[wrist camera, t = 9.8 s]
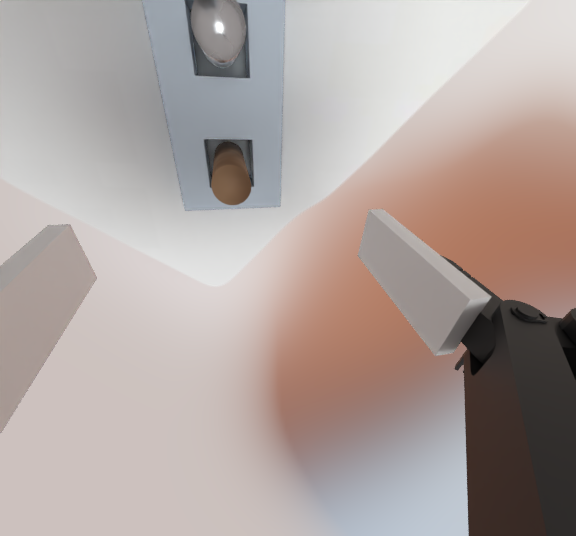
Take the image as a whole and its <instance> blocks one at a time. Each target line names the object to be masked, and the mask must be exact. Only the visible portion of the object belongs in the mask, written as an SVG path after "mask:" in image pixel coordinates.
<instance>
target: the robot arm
mask: <svg viewBox="0 0 576 536" xmlns="http://www.w3.org/2000/svg"><path fill="white" fill-rule="evenodd" d="M358 257H359V258H360V259H361V261H362V262H363V263H364V265H365V266H366V267H367V268H368V270H369V271H370V272H371V273H372V275H373V276H374V277H375V279H376V280H377V281H378V283H379V284H380V285H381V286H382V288H383V289H384V290H385V291H386V293H387V294H388V296H389V297H390V298H391V299H392V301H393V302H394V303H395V305H396V306H397V307H398V308H399V310H400V311H401V312H402V313H403V315H404V316H405V318H406V319H407V320H408V321H409V323H410V324H411V325H412V327H413V328H414V329H415V330H416V332H417V333H418V334H419V335H420V337H421V338H422V340H423V341H424V342H425V343H426V345H427V346H428V347H429V349H430V350H431V351H432V352H433V354H434V355H435V356H438V355H443V354H449V353H454V351H455V350H456V348H457V347H458V345H459V344H460V342H462V343H463V344H464V345H465V346H466V347H467V350H466V351H465V353H464V354H463V356H462V357H461V358H460V360H459V361H458V362H457V364H456V366H455V369H456V370H458V369H459V368H460V367H461V365H464V371H463V373H464V387H465V422H466V454H467V489H468V490H467V491H468V524H469V536H576V308H574V309H572V310H571V311H570V312H569V313H568V314H567V315H566V316H565V317H564V318H563V319H561V318H553V317H547V316H546V315H545V314H543V313H542V312H541V311H540V310H537V309H536V308H534V307H533V306H531V305H528V304H525V303H523V302H520V301H515V300H505V301H503V300H501V299H500V298H499V297H497V296H496V295H495V294H494V293H492V292H491V291H490V290H489V289H487V288H486V287H485V286H484V285H482V284H481V283H480V282H478V281H477V280H476V279H475V278H473V277H471V275H469V274H468V273H467V272H466V271H463V269H462V268H461V267H459V266H458V265H457V264H456V263H454V262H453V261H451V260H449V259H447V258H445V257H443V256H441V255H439V254H438V253H437V252H435V251H434V250H433V249H432V248H430V247H429V246H428V245H427V244H425V243H424V242H423V241H422V240H420V239H419V238H418V237H417V236H415V235H414V234H413V233H412V232H410V231H409V230H408V229H407V228H405V227H404V226H403V225H402V224H400V223H399V222H398V221H397V220H396V219H394V218H393V217H392V216H391V215H389V214H388V213H387V212H386V211H384V210H383V209H375V210H369V211H368V215H367V220H366V224H365V228H364V232H363V236H362V240H361V245H360V248H359V253H358ZM96 279H97V277H96V275H95V273H94V271H93V269H92V267H91V265H90V263H89V261H88V259H87V257H86V255H85V253H84V251H83V249H82V247H81V245H80V243H79V241H78V239H77V237H76V235H75V233H74V231H73V229H72V227H71V225H70V224H69V225H68V224H66V225H48V226H47V227H46V228H44V229H43V230H42V231H41V232H40V233H39V234H37V235H36V236H35V237H34V238H33V239H32V240H30V241H29V242H28V243H27V244H26V245H24V246H23V247H22V248H21V249H20V250H19V251H17V252H16V253H15V254H14V255H13V256H11V257H10V258H9V259H8V260H7V261H6V262H5V263H3V264H2V265H1V266H0V433H1V432H2V431H3V429H4V428H5V426H6V424H7V423H8V421H9V419H10V417H11V416H12V415H13V413H14V411H15V410H16V408H17V406H18V405H19V403H20V402H21V400H22V398H23V397H24V395H25V393H26V392H27V390H28V389H29V387H30V386H31V384H32V382H33V381H34V379H35V377H36V376H37V374H38V373H39V371H40V369H41V368H42V366H43V365H44V363H45V361H46V360H47V358H48V356H49V355H50V353H51V351H52V350H53V348H54V347H55V345H56V344H57V342H58V340H59V339H60V337H61V336H62V334H63V332H64V331H65V329H66V327H67V326H68V324H69V323H70V321H71V319H72V318H73V316H74V315H75V313H76V311H77V309H78V308H79V306H80V305H81V303H82V302H83V300H84V298H85V297H86V295H87V293H88V292H89V290H90V289H91V287H92V285H93V284H94V282H95V281H96Z"/></svg>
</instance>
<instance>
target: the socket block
mask: <svg viewBox="0 0 576 536" xmlns="http://www.w3.org/2000/svg"><path fill="white" fill-rule="evenodd" d="M236 1H237V2H238V4H239V6H240V8H241V9H242V12H243V14H244V18H245V23H246V37H245V46H246V70H247V78H232V77H214V76H198V73H197V65H196V58H195V50H194V42H193V35H192V27H191V19H190V12H189V9H192V6H193V3H194V0H142V2H143V7H144V12H145V17H146V22H147V27H148V32H149V37H150V41H151V46H152V51H153V56H154V61H155V66H156V71H157V76H158V81H159V86H160V91H161V95H162V100H163V105H164V110H165V115H166V120H167V125H168V130H169V135H170V140H171V145H172V149H173V154H174V159H175V164H176V169H177V174H178V179H179V184H180V189H181V194H182V199H183V203H184V208H185V211H191V210H215V209H239V208H262V207H280V198H281V155H282V112H283V69H284V26H285V0H236ZM206 139H240V140H250V163H251V177H249V178H250V181H251V192H250V195H249V197H248V198H247V199H246V200H245V201H244V202H243V203H241V204H238V205H227V204H224V203H222V202H221V201H219V200H218V199H217V198H216V197H215V195H214V194H213V191H212V187H211V181H212V178H211V172H210V164H209V157H208V149H207V142H206Z"/></svg>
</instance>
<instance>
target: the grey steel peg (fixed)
mask: <svg viewBox="0 0 576 536" xmlns="http://www.w3.org/2000/svg"><path fill="white" fill-rule="evenodd" d="M191 25H192V30H193V33H194V36H195V38H196V40H197V42H198V44H199V46H200V47H201V49H202V51H203V52H204V54H205V56H206V57H207V59H208V60H209V61H210V62H211V63H212V64H213V65H214V66H216V67H219V68H227V67H229V66H231V65H232V64H233V63H234V61H235V60H236V58H237V56H238V54H239V53H240V51H241V49H242V47H243V45H244V42H245V37H246V23H245V18H244V15H243V12H242V9H241V8H240V6H239V4H238V2H237V1H236V0H194V3H193V6H192V10H191Z"/></svg>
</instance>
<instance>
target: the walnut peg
mask: <svg viewBox="0 0 576 536" xmlns="http://www.w3.org/2000/svg"><path fill="white" fill-rule="evenodd" d="M211 187H212V191H213V194H214V195H215V197H216V198H217V199H218V200H219V201H221V202H222V203H224V204H227V205H238V204H241V203H243V202H244V201H245V200H246V199H247V198H248V197H249V195H250V192H251V181H250V178H249V174H248V171H247V167H246V164H245V160H244V157H243V153H242V151H241V149H240V148H239V146H238V145H236V144H235V143H233V142H223V143H221V144H219V145H218V146H217V148H216V150H215V155H214V164H213V172H212V181H211Z"/></svg>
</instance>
